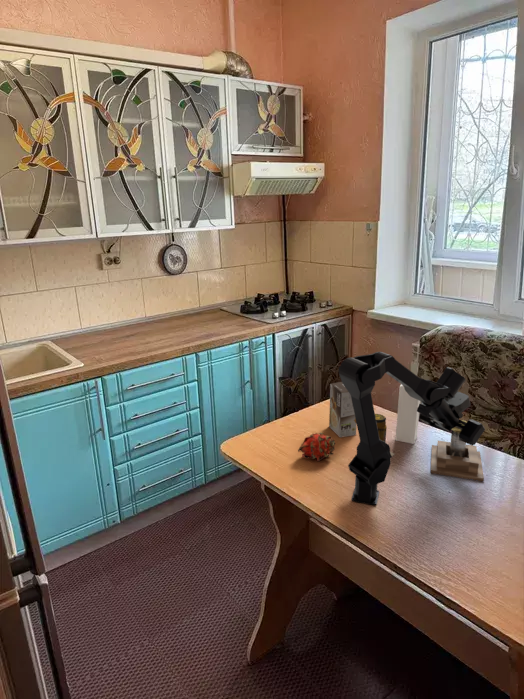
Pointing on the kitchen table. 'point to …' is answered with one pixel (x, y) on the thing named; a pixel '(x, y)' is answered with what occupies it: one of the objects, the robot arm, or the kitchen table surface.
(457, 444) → the pin
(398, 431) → the milk
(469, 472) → the block
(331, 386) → the coffee box
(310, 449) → the dragon fruit
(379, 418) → the condiment
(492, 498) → the kitchen table surface
